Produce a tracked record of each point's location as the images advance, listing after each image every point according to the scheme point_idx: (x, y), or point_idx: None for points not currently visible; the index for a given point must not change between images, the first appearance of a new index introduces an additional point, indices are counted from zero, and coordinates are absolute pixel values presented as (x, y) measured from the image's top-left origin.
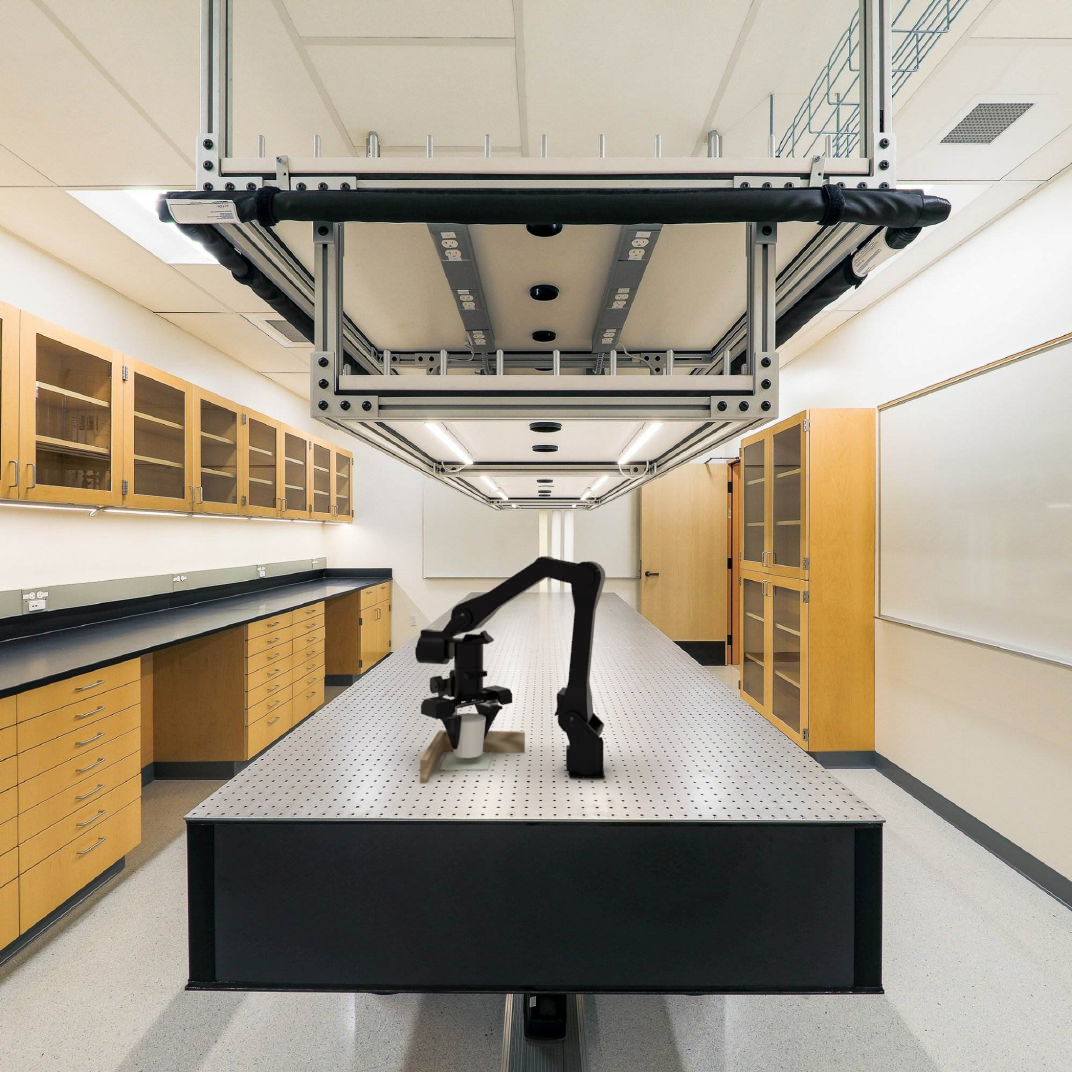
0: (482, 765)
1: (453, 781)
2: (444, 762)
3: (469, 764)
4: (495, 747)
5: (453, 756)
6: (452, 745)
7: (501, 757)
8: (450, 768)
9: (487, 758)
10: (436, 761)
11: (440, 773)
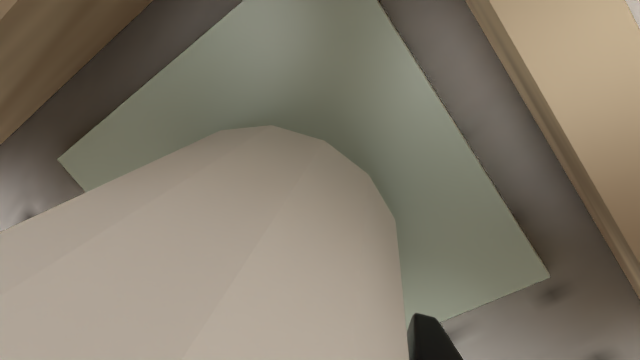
0: None
1: None
2: (137, 102)
3: None
4: (635, 286)
5: (278, 59)
6: None
7: (527, 348)
8: None
9: (414, 307)
10: (78, 59)
11: (37, 193)
